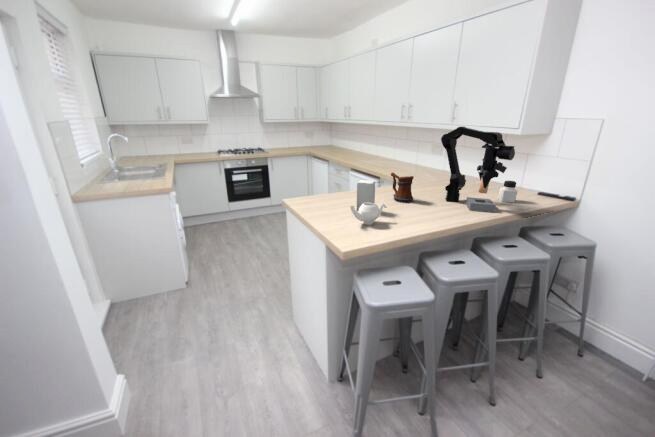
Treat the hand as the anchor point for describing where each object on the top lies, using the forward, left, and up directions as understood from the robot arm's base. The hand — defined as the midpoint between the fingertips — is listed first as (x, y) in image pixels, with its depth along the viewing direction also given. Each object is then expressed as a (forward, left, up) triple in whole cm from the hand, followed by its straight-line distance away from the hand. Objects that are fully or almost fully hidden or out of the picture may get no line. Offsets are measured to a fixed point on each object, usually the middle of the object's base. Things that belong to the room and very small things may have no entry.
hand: (483, 186), depth 156 cm
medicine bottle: (+19, +21, -12) cm, 31 cm away
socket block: (0, 0, -12) cm, 12 cm away
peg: (0, 0, -3) cm, 3 cm away
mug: (-43, +5, -12) cm, 45 cm away
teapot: (-56, -41, -12) cm, 71 cm away
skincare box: (-60, -23, -12) cm, 66 cm away
